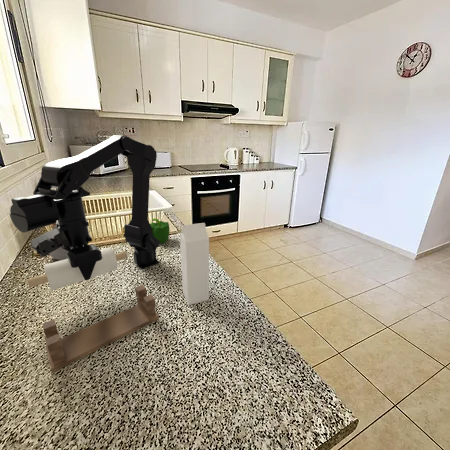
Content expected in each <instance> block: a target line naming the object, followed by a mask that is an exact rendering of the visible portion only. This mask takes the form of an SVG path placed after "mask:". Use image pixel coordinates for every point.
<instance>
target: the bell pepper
mask: <svg viewBox="0 0 450 450" xmlns="http://www.w3.org/2000/svg"><path fill="white" fill-rule="evenodd" d="M151 220H152V222H150V225H151V227H152V231H153V236H154V237H155V238H156V239H158V240H159V241H160V242H159V244H164V243H166V242H168V240H169V237H170V232H171V231H170V223H169V222H168V221H163V220H159V219H158V218H155V217H154V218H152V219H151ZM155 221H156V222H155Z"/></svg>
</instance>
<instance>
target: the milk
mask: <svg viewBox="0 0 450 450" xmlns="http://www.w3.org/2000/svg"><path fill="white" fill-rule="evenodd" d="M181 228H182V229H181V230H182V231H181V232H179V239H180V240H179V242H180V258H181V259H180V260H181V262H180V263H181V280H182V281H181V282H182V283H181V284H182V293H183V296H184V298H185V300H186V303H187V305H188V306H191V305H194V304H198V303H203V302H206V301H209V300H210V237H209V234H208V232H207V229H206V223H205V222H201V223H192V224H185V225H184V224H183V225H182V226H181Z"/></svg>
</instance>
